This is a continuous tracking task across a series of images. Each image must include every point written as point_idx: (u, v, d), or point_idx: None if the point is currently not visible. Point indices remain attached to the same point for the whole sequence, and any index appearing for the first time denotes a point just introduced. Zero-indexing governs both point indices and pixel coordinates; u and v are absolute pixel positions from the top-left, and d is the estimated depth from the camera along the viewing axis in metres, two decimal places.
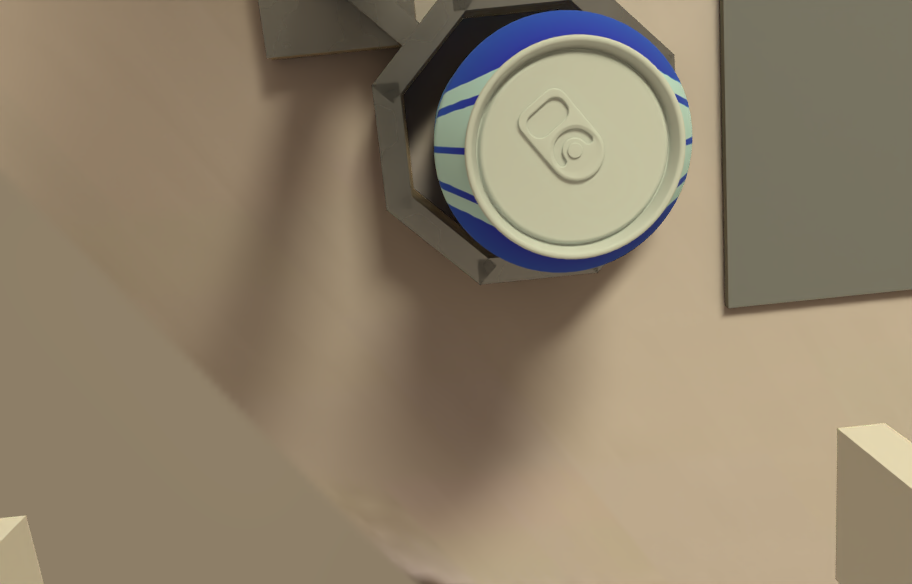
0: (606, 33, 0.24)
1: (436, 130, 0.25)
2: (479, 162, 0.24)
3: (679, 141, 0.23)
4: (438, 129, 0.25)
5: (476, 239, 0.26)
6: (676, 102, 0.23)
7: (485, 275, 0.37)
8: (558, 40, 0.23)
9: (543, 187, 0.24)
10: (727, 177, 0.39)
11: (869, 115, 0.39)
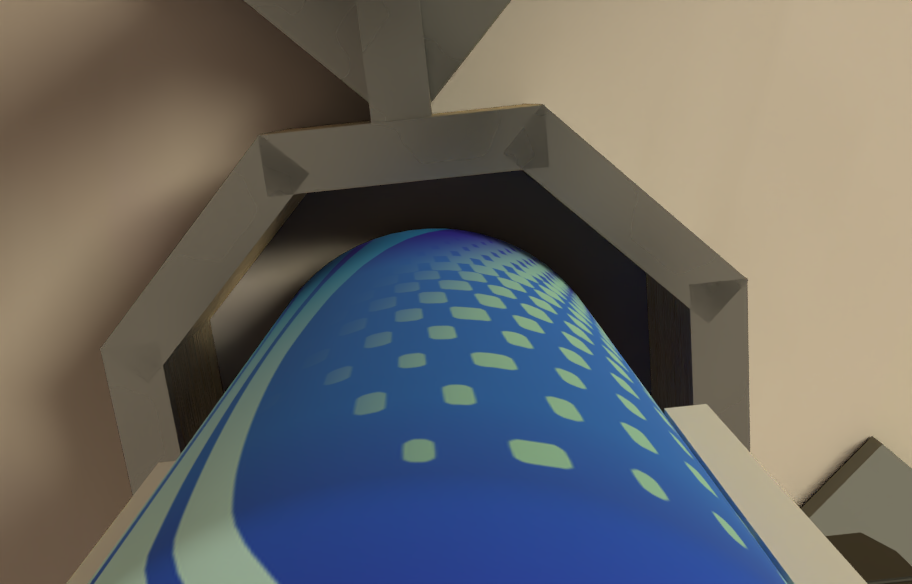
0: None
1: None
2: None
3: None
4: None
5: None
6: None
7: None
8: None
9: None
10: None
11: None
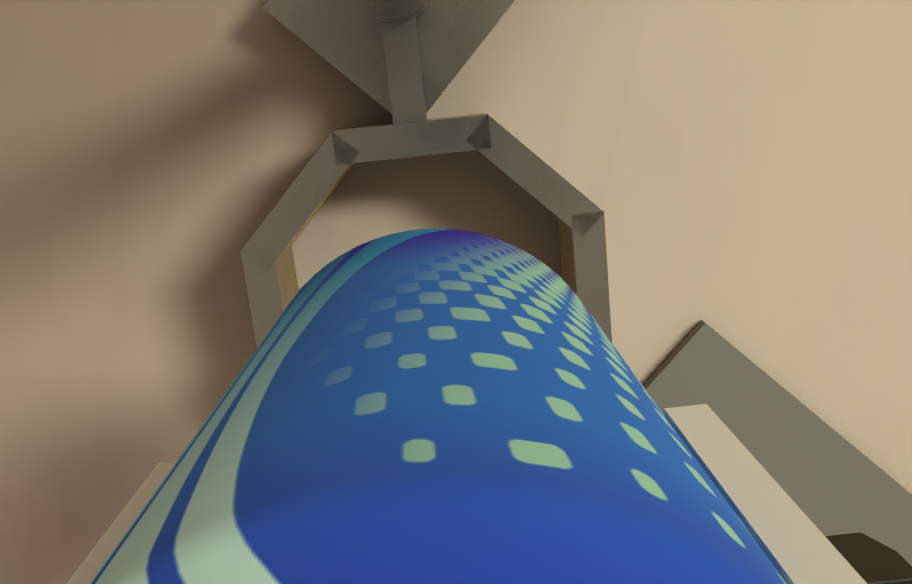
0: None
1: None
2: None
3: None
4: None
5: None
6: None
7: None
8: None
9: None
10: None
11: None
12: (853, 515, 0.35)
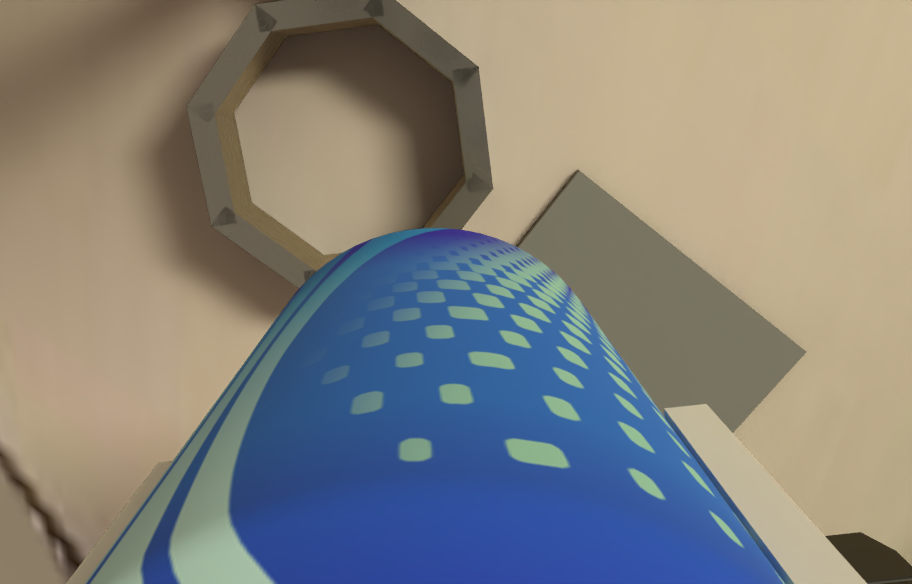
0: None
1: None
2: None
3: None
4: None
5: None
6: None
7: (221, 223, 0.37)
8: None
9: None
10: None
11: None
12: (714, 336, 0.42)
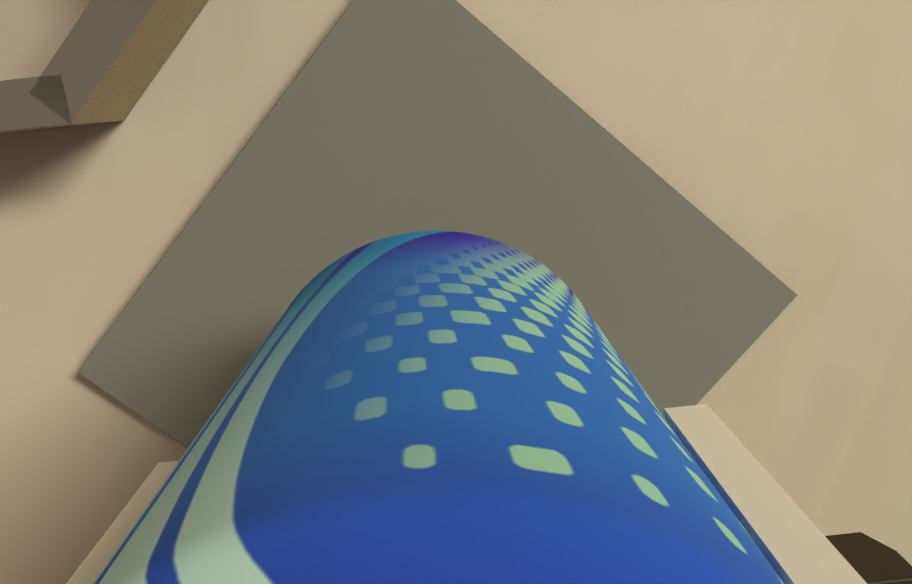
0: None
1: None
2: None
3: None
4: None
5: None
6: None
7: None
8: None
9: None
10: (203, 205, 0.23)
11: None
12: (639, 263, 0.24)
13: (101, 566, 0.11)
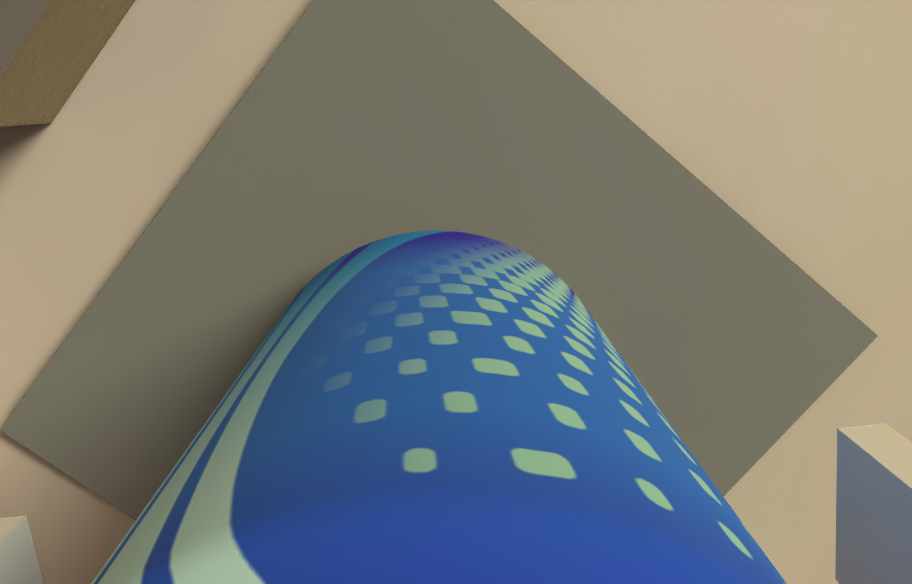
0: None
1: None
2: None
3: None
4: None
5: None
6: None
7: None
8: None
9: None
10: (149, 228, 0.19)
11: None
12: (685, 297, 0.20)
13: None
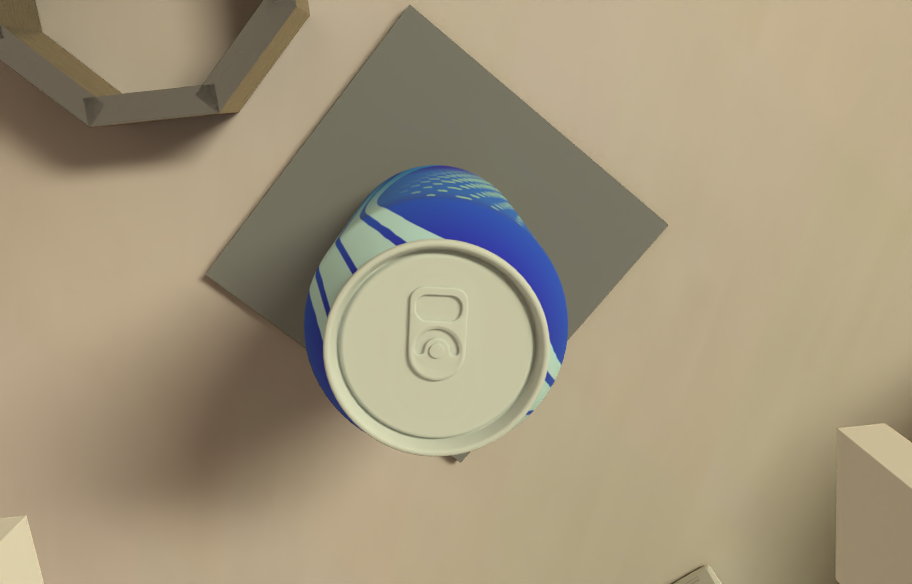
0: (539, 284, 0.23)
1: (352, 228, 0.24)
2: (357, 290, 0.23)
3: (517, 414, 0.23)
4: (353, 230, 0.24)
5: (305, 337, 0.25)
6: (540, 385, 0.23)
7: None
8: (498, 262, 0.22)
9: (388, 354, 0.23)
10: (288, 166, 0.37)
11: None
12: (566, 203, 0.38)
13: None
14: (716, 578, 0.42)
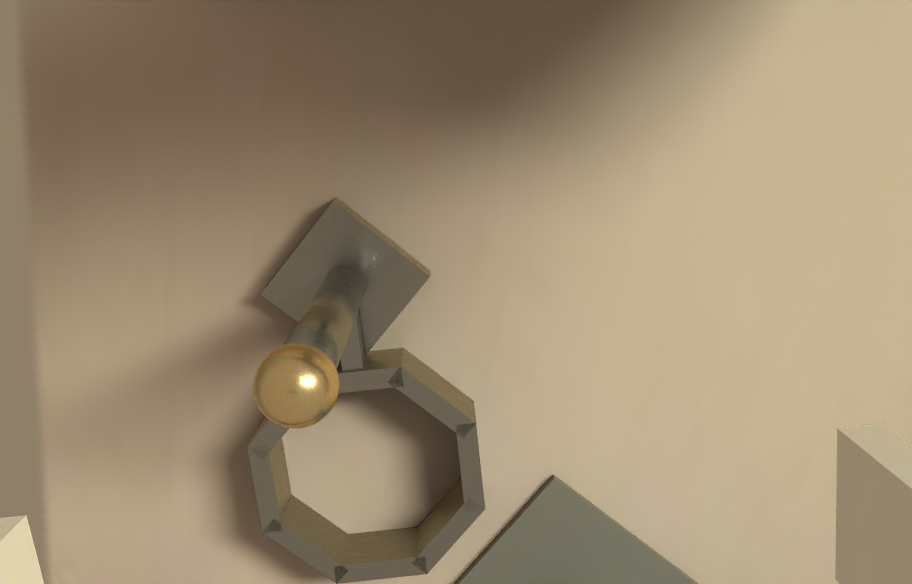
0: None
1: None
2: None
3: None
4: None
5: None
6: None
7: (270, 530, 0.47)
8: None
9: None
10: (462, 580, 0.52)
11: None
12: None
13: None
14: None
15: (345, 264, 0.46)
